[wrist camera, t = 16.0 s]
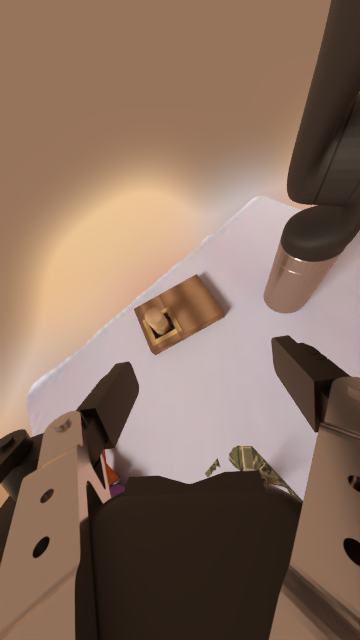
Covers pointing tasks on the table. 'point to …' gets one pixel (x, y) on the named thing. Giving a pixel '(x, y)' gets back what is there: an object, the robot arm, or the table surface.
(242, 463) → the eiffel tower figurine
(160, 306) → the pin board
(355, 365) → the table surface
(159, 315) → the pin
